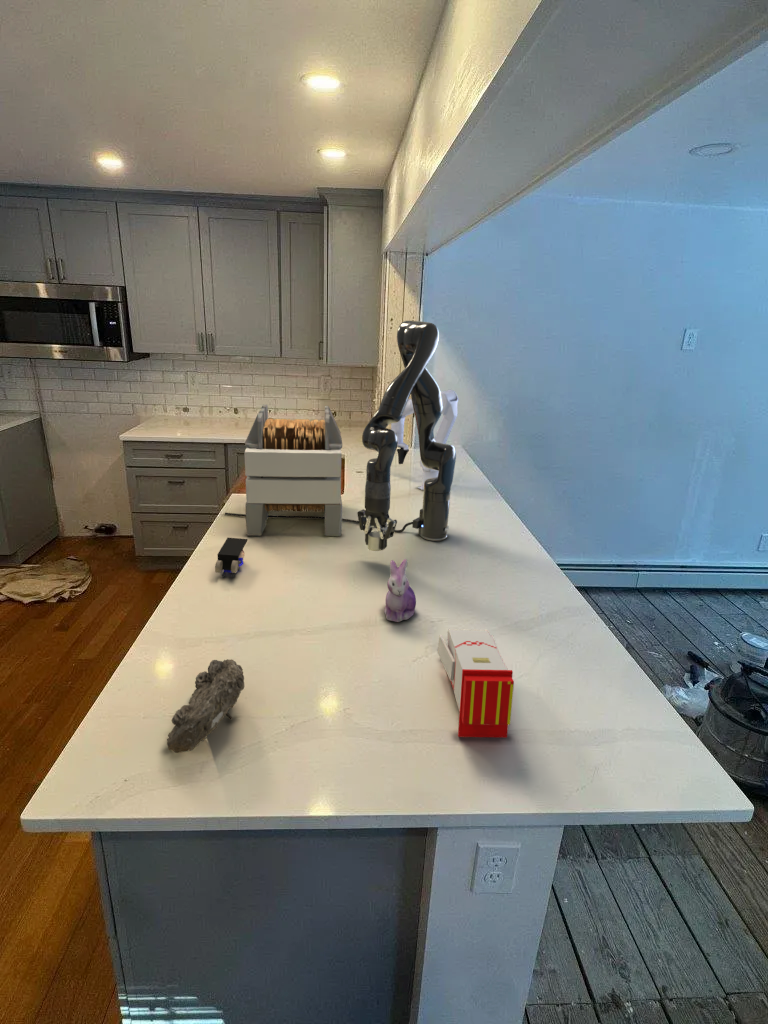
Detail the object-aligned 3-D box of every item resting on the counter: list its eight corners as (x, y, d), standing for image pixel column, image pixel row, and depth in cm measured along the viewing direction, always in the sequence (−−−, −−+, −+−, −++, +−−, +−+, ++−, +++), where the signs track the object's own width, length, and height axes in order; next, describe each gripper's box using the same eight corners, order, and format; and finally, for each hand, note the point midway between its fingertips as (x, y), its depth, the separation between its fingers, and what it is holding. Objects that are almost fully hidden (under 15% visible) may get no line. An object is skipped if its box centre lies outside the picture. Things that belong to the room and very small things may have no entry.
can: (364, 548, 173) (365, 534, 171) (373, 543, 177) (374, 530, 175) (377, 552, 171) (378, 538, 169) (386, 547, 174) (387, 533, 173)
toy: (488, 613, 130) (523, 677, 101) (484, 667, 133) (517, 744, 104) (435, 612, 130) (455, 676, 101) (432, 666, 133) (451, 743, 103)
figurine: (392, 627, 141) (395, 572, 136) (374, 608, 149) (376, 556, 144) (425, 619, 145) (429, 566, 140) (405, 601, 154) (408, 550, 149)
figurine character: (238, 584, 162) (249, 557, 175) (236, 562, 158) (247, 536, 172) (215, 584, 161) (227, 556, 175) (212, 561, 158) (225, 535, 171)
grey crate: (255, 503, 223) (251, 399, 209) (338, 504, 226) (340, 401, 213) (245, 536, 191) (239, 416, 177) (342, 536, 195) (344, 418, 181)
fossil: (192, 660, 117) (244, 628, 112) (224, 691, 120) (276, 661, 115) (142, 746, 98) (202, 712, 93) (182, 779, 101) (242, 748, 96)
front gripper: (351, 491, 169) (350, 544, 175) (389, 502, 161) (386, 557, 167) (367, 486, 175) (365, 537, 180) (404, 496, 166) (401, 549, 172)
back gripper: (380, 430, 257) (379, 459, 262) (400, 436, 246) (398, 466, 251) (392, 428, 261) (391, 457, 266) (412, 435, 251) (411, 464, 255)
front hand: (375, 546), depth 174 cm, fingers closed on can, 4 cm apart
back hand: (395, 461), depth 259 cm, fingers open, 7 cm apart
